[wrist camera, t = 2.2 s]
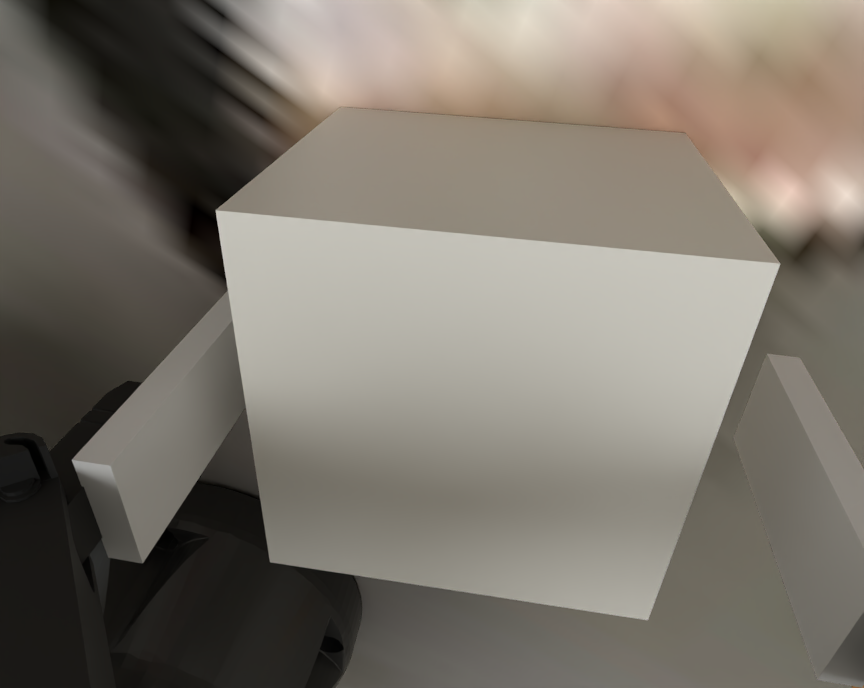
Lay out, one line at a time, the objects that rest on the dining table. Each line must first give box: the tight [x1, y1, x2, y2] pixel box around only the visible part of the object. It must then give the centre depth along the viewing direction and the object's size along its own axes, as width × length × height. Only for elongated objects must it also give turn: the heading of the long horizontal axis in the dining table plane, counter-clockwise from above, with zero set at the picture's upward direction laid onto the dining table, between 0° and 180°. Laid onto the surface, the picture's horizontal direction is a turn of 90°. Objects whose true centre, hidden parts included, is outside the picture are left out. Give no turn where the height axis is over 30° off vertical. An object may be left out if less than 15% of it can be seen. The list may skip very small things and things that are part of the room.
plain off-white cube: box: [216, 107, 780, 620], centre depth 18 cm, size 10×10×9 cm
